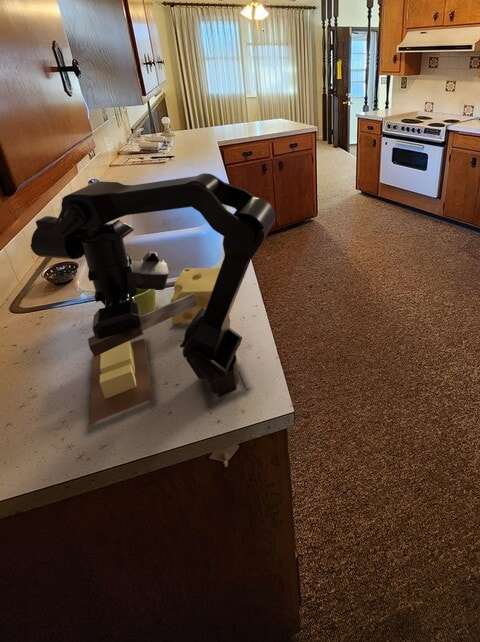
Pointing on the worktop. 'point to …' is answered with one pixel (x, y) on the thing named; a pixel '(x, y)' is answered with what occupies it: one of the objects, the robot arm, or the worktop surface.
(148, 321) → the knife
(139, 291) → the plant pot
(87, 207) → the robot arm
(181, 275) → the cheese
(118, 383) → the butter slice
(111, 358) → the butter
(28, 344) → the worktop surface
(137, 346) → the board
